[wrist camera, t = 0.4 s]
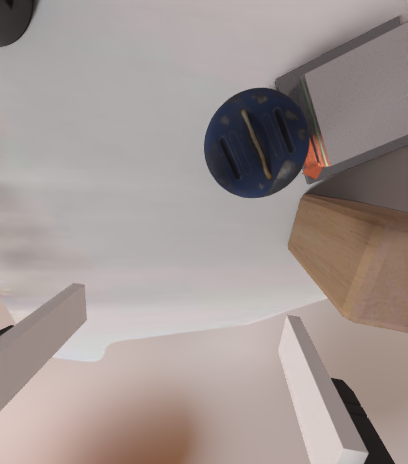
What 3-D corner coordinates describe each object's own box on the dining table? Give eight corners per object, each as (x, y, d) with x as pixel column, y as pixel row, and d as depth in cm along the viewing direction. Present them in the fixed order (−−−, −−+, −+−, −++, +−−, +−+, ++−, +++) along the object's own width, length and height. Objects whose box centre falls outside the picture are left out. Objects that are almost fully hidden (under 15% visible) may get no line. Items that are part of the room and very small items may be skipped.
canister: (269, 118, 33) (316, 59, 16) (276, 180, 35) (325, 189, 18) (208, 133, 34) (189, 94, 17) (219, 192, 37) (212, 210, 19)
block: (362, 202, 35) (530, 239, 15) (341, 258, 37) (463, 348, 18) (300, 192, 35) (388, 215, 16) (284, 248, 38) (344, 325, 19)
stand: (271, 83, 32) (279, 67, 27) (392, 21, 28) (426, -10, 23) (303, 185, 35) (316, 187, 30) (415, 140, 32) (449, 134, 27)
